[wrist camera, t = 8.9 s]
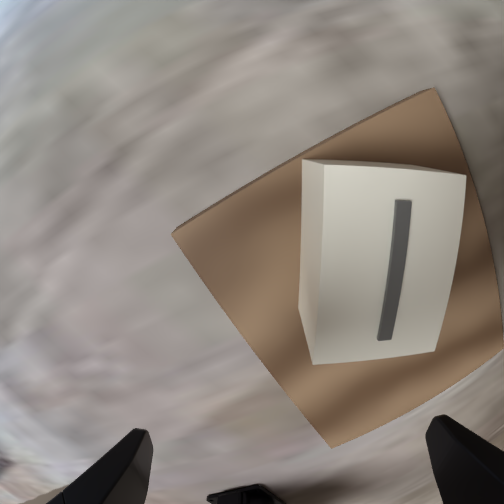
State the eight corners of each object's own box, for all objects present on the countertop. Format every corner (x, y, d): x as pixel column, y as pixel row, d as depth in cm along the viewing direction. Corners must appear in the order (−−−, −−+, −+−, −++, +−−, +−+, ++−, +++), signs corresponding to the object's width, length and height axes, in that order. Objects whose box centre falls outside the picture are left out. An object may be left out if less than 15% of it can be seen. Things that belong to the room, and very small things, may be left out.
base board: (494, 338, 20) (503, 348, 19) (328, 435, 23) (331, 448, 21) (421, 90, 15) (434, 87, 13) (177, 227, 17) (170, 234, 16)
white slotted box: (410, 164, 15) (469, 176, 10) (396, 302, 17) (436, 353, 12) (301, 159, 15) (325, 165, 10) (298, 308, 17) (313, 367, 12)
